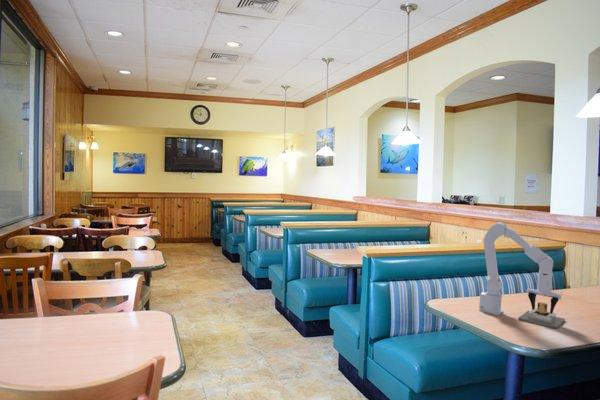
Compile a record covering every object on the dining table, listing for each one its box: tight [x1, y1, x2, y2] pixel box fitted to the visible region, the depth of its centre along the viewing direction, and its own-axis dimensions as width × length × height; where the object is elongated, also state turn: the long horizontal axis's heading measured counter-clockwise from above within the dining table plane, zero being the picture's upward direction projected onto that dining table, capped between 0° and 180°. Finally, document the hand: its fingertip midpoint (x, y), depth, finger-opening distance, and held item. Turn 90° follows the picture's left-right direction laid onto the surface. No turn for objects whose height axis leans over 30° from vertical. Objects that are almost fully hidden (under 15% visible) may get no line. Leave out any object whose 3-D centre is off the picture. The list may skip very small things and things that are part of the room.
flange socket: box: [517, 308, 566, 330], centre depth 213 cm, size 16×16×4 cm
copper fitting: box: [536, 302, 548, 316], centre depth 213 cm, size 4×4×7 cm
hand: (542, 311), depth 213 cm, fingers open, 7 cm apart
